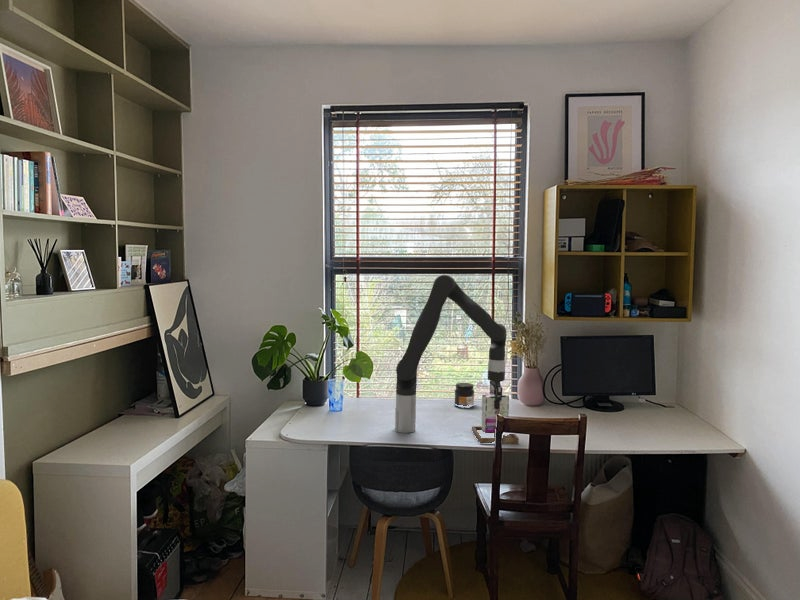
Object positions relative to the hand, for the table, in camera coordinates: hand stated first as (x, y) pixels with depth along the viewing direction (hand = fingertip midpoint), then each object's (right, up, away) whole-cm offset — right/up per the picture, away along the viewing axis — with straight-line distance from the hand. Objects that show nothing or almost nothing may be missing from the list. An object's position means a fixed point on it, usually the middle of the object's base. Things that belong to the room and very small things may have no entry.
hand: (495, 406), depth 243 cm
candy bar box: (0, -11, +1) cm, 11 cm away
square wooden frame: (0, -14, +1) cm, 14 cm away
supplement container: (-8, -10, +53) cm, 54 cm away
